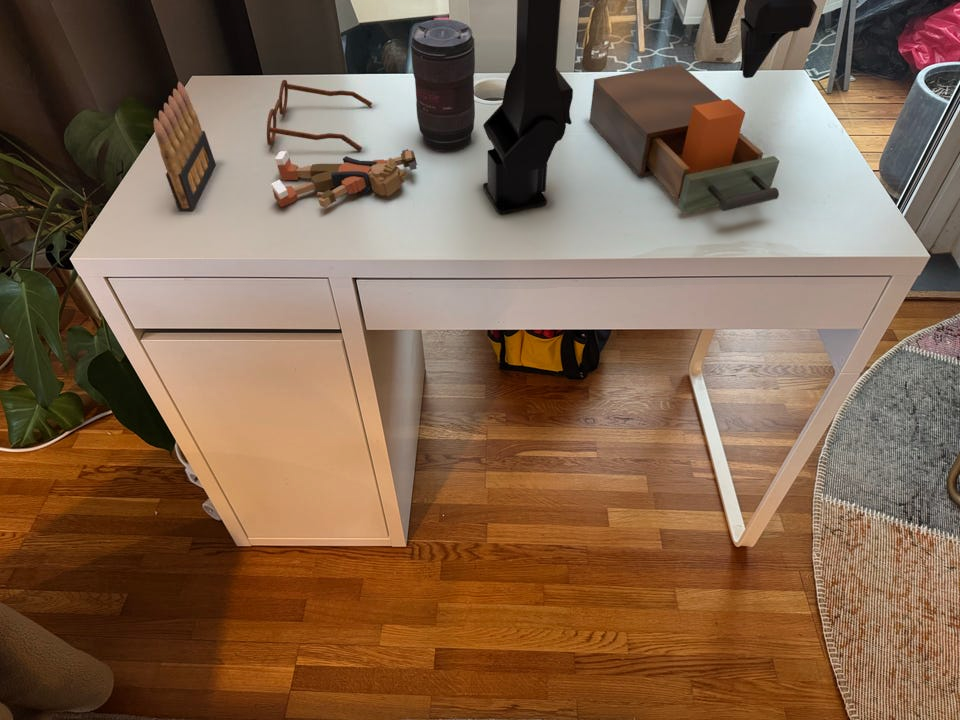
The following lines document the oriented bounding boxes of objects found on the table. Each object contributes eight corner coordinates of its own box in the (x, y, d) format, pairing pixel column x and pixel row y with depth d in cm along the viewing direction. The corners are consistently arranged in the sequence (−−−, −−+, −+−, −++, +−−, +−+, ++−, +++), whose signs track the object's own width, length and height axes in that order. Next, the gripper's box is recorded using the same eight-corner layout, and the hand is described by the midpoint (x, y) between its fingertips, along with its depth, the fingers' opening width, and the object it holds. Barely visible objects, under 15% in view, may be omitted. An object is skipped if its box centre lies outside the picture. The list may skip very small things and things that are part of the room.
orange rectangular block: (692, 182, 88) (708, 119, 82) (678, 168, 90) (692, 105, 84) (727, 175, 89) (745, 112, 83) (712, 160, 91) (729, 98, 85)
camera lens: (417, 156, 96) (408, 46, 85) (419, 125, 102) (410, 18, 91) (476, 154, 97) (475, 44, 85) (475, 124, 102) (473, 17, 91)
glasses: (286, 106, 106) (278, 74, 102) (372, 105, 106) (368, 73, 102) (268, 153, 97) (259, 120, 93) (362, 153, 97) (357, 119, 93)
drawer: (789, 213, 85) (802, 179, 82) (700, 234, 83) (710, 200, 79) (707, 137, 97) (715, 105, 94) (627, 153, 95) (632, 121, 91)
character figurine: (287, 137, 94) (417, 131, 90) (298, 169, 97) (424, 165, 94) (255, 188, 86) (397, 184, 83) (269, 222, 89) (405, 219, 86)
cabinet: (728, 159, 95) (740, 115, 90) (639, 178, 92) (647, 133, 88) (671, 106, 105) (679, 63, 100) (589, 121, 102) (594, 79, 97)
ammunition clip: (202, 164, 96) (173, 78, 87) (216, 164, 96) (188, 78, 87) (178, 211, 88) (144, 122, 80) (193, 211, 88) (160, 122, 79)
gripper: (893, -65, 67) (833, 92, 79) (807, -119, 80) (766, 23, 91) (780, -59, 66) (737, 98, 78) (712, -115, 79) (683, 28, 90)
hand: (733, 59), depth 84 cm, fingers open, 9 cm apart
